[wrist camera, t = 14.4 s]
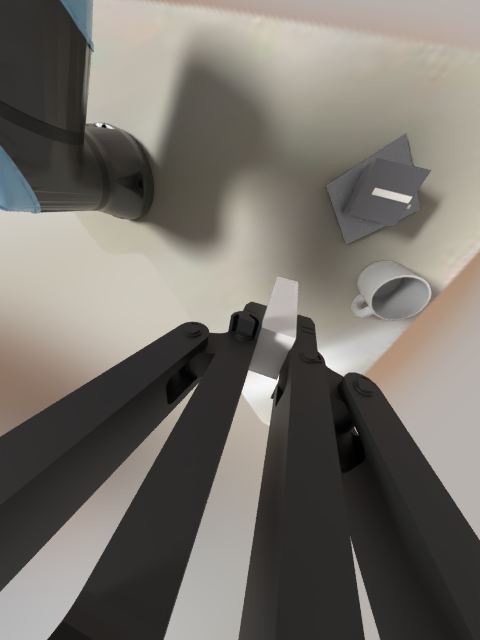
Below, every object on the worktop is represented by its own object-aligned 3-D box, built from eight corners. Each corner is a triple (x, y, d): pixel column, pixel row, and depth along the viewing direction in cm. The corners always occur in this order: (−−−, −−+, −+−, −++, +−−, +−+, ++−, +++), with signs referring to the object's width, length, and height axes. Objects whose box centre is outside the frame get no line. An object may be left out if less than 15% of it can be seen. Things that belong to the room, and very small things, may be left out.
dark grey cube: (342, 213, 30) (349, 214, 25) (364, 166, 27) (377, 157, 22) (380, 223, 29) (395, 227, 24) (408, 177, 26) (432, 169, 21)
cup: (413, 278, 32) (444, 298, 25) (360, 313, 38) (373, 338, 31) (385, 250, 32) (408, 263, 24) (335, 290, 37) (342, 311, 30)
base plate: (325, 185, 30) (328, 182, 26) (402, 135, 25) (419, 123, 21) (345, 243, 33) (350, 248, 29) (417, 209, 28) (434, 210, 24)
